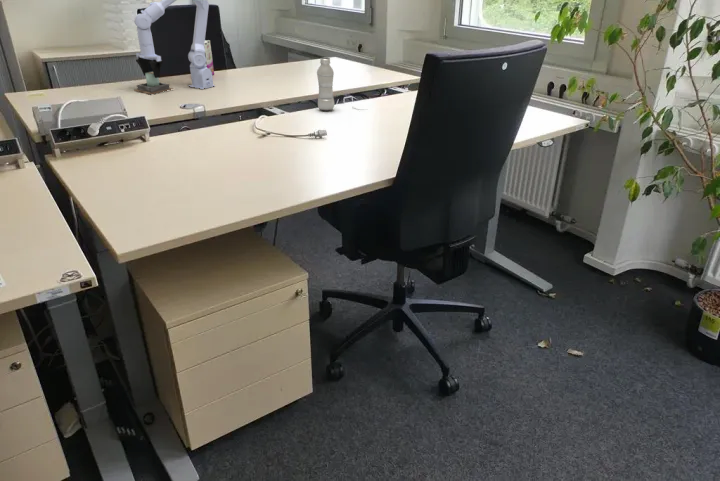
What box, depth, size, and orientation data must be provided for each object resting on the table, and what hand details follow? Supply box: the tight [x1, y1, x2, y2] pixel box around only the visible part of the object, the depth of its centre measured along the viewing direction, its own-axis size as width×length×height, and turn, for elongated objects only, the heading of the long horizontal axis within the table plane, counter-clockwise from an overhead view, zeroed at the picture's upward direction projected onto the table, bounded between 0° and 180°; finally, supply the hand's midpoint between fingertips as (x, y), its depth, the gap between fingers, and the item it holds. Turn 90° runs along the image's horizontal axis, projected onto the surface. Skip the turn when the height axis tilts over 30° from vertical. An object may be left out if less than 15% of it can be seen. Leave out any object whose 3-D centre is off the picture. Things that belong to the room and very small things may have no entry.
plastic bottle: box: [316, 57, 335, 112], centre depth 213 cm, size 6×7×20 cm
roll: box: [145, 71, 160, 87], centre depth 241 cm, size 5×5×7 cm
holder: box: [133, 81, 174, 95], centre depth 242 cm, size 12×12×3 cm
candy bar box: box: [204, 39, 215, 77], centre depth 265 cm, size 11×5×16 cm, turn 179°
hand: (151, 76), depth 240 cm, fingers open, 7 cm apart
